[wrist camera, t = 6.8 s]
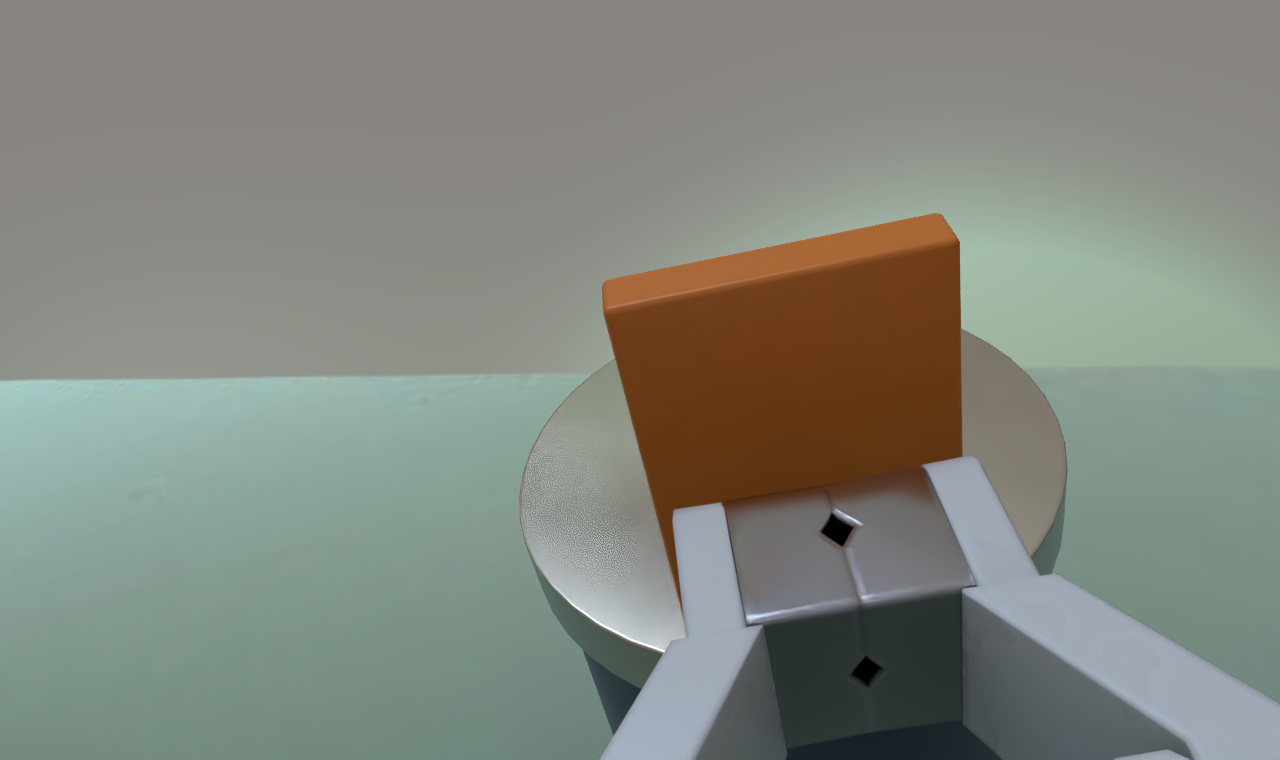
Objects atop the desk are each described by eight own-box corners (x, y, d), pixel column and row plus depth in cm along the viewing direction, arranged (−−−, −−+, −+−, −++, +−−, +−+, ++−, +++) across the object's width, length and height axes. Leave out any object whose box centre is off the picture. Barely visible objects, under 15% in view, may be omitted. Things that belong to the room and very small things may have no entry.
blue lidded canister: (1112, 1004, 20) (1182, 597, 13) (664, 1070, 21) (503, 716, 14) (965, 643, 28) (959, 262, 21) (640, 700, 28) (527, 348, 21)
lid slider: (965, 596, 13) (962, 238, 10) (689, 645, 14) (601, 310, 11) (895, 431, 16) (875, 113, 13) (668, 474, 17) (594, 172, 13)
